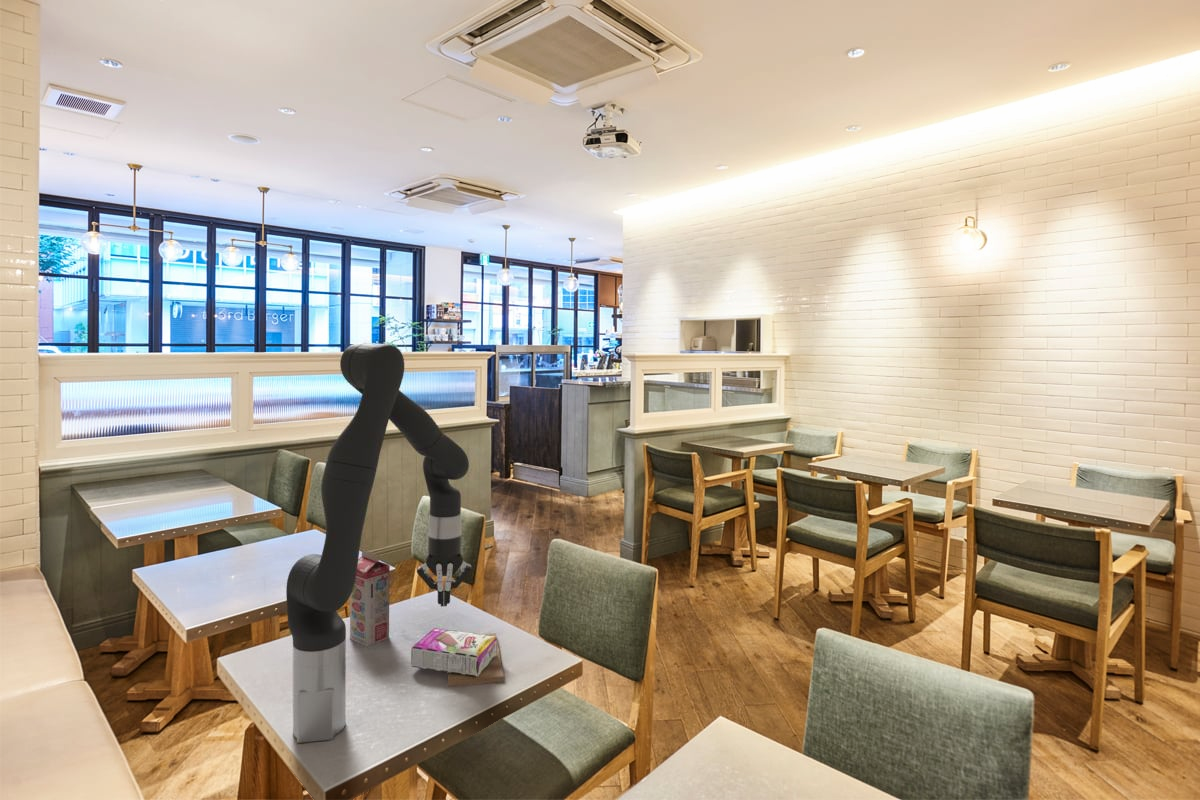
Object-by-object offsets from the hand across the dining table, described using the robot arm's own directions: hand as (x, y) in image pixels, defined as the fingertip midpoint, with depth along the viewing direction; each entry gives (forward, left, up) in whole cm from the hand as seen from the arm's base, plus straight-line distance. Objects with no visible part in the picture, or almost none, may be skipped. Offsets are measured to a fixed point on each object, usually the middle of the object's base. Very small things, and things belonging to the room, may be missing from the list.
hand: (443, 605), depth 150 cm
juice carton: (+14, +18, -13) cm, 26 cm away
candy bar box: (-1, +5, -9) cm, 11 cm away
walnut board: (-2, -7, -13) cm, 15 cm away
